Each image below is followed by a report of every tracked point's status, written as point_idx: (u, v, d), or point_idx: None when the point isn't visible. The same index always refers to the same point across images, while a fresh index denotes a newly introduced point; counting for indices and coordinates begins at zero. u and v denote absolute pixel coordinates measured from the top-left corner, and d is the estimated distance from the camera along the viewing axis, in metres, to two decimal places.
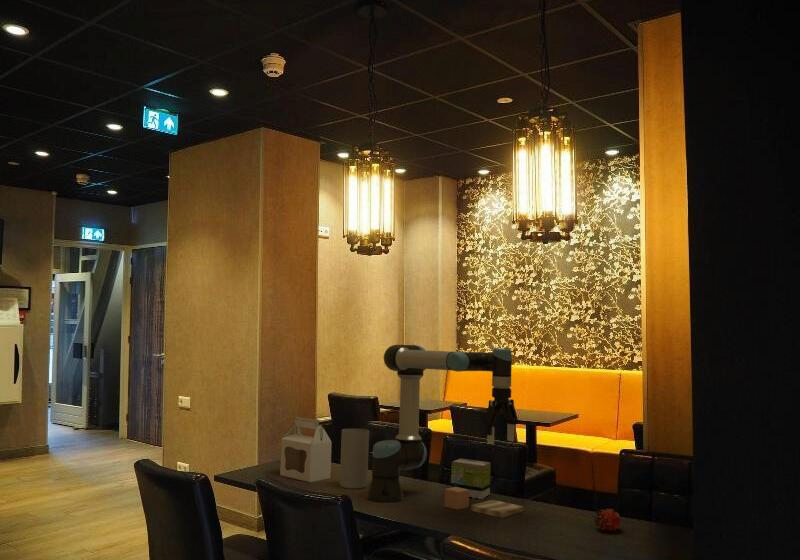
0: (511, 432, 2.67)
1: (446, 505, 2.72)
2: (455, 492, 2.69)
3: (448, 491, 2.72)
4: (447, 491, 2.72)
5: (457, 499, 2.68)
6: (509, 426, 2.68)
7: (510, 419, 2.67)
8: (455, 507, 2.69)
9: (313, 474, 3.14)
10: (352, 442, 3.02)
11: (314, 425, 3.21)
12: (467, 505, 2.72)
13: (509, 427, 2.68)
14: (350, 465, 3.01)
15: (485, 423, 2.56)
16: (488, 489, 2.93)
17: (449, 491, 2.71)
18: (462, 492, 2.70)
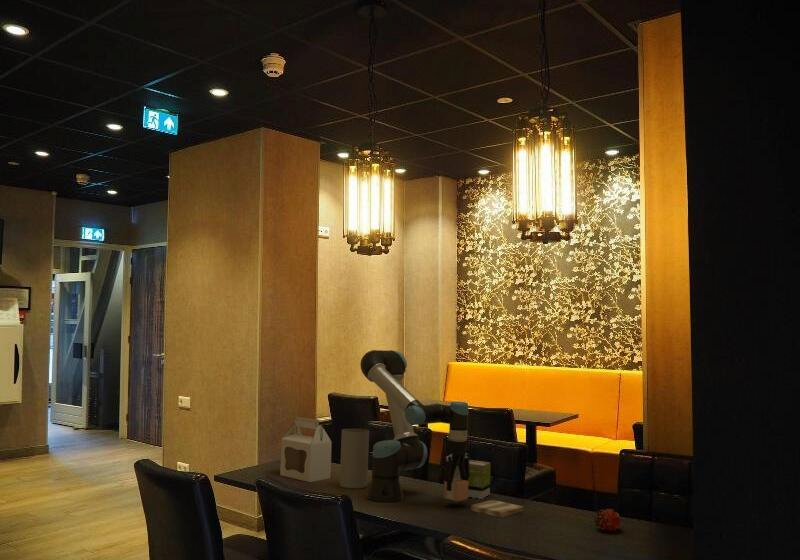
0: None
1: (445, 496, 2.73)
2: (454, 483, 2.70)
3: None
4: (446, 482, 2.73)
5: (456, 490, 2.69)
6: None
7: (462, 473, 2.76)
8: (454, 498, 2.69)
9: (313, 474, 3.14)
10: (352, 442, 3.02)
11: (314, 425, 3.21)
12: (466, 496, 2.73)
13: None
14: (350, 465, 3.01)
15: (445, 479, 2.69)
16: (488, 489, 2.93)
17: None
18: (461, 484, 2.71)
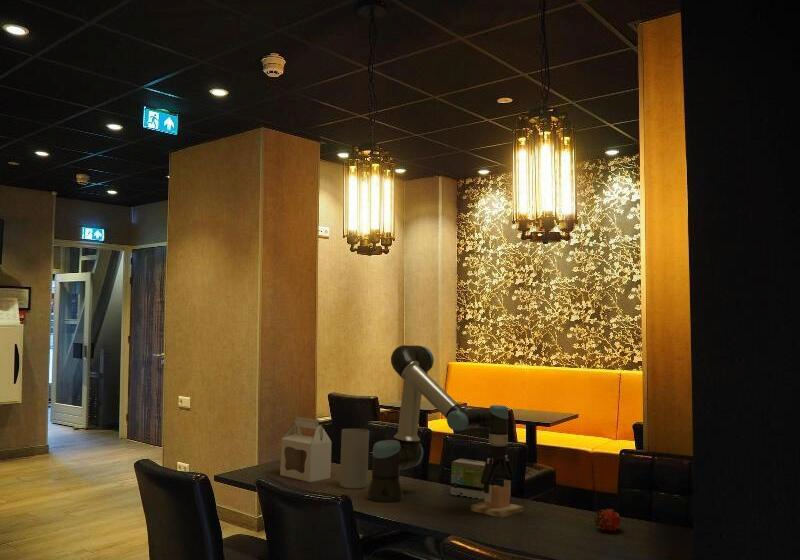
0: None
1: (486, 504, 2.67)
2: (496, 490, 2.65)
3: None
4: None
5: (498, 497, 2.64)
6: (506, 482, 2.73)
7: (506, 475, 2.73)
8: (496, 506, 2.64)
9: (313, 474, 3.14)
10: (352, 442, 3.02)
11: (314, 425, 3.21)
12: (508, 504, 2.67)
13: (505, 482, 2.73)
14: (350, 465, 3.01)
15: (482, 481, 2.62)
16: None
17: None
18: (503, 491, 2.65)
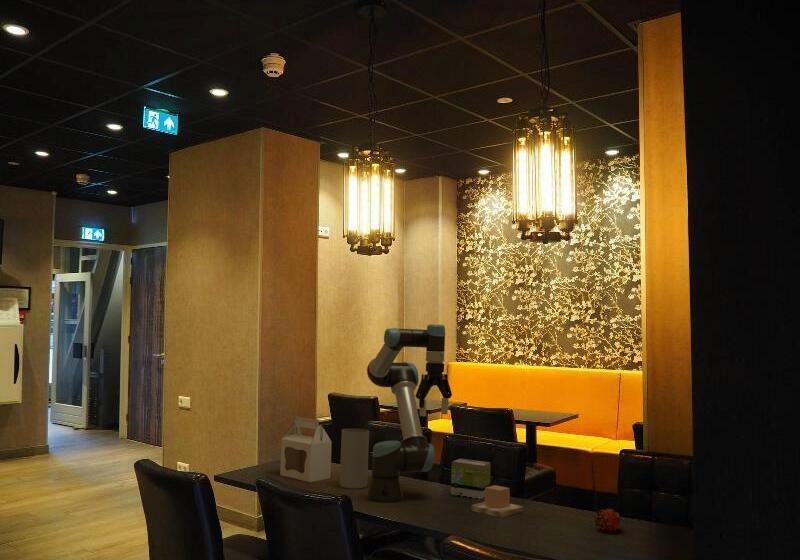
0: (445, 406, 2.77)
1: (486, 504, 2.67)
2: (496, 490, 2.65)
3: (488, 489, 2.67)
4: (487, 489, 2.67)
5: (498, 497, 2.64)
6: (443, 400, 2.78)
7: (444, 393, 2.77)
8: (496, 506, 2.64)
9: (313, 474, 3.14)
10: (352, 442, 3.02)
11: (314, 425, 3.21)
12: (508, 504, 2.67)
13: (443, 400, 2.78)
14: (350, 465, 3.01)
15: (417, 396, 2.66)
16: None
17: (489, 489, 2.67)
18: (503, 491, 2.65)
